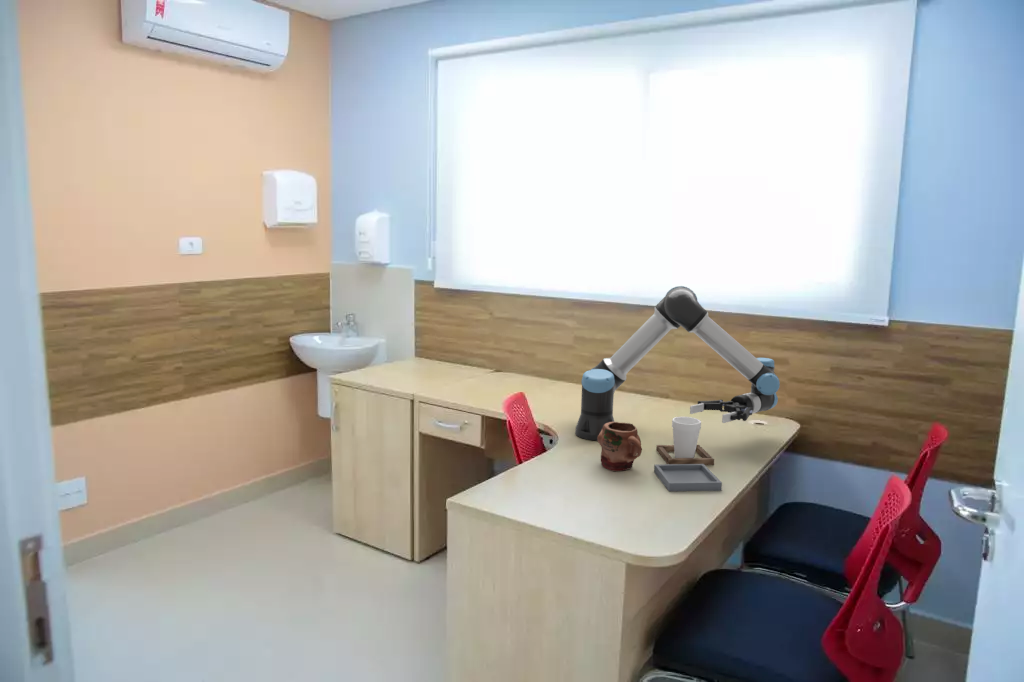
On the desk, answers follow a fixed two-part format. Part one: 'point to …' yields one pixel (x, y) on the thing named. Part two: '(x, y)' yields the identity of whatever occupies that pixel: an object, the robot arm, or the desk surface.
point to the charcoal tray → (687, 477)
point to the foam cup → (685, 436)
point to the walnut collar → (668, 459)
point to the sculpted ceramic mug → (619, 445)
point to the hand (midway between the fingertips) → (706, 414)
